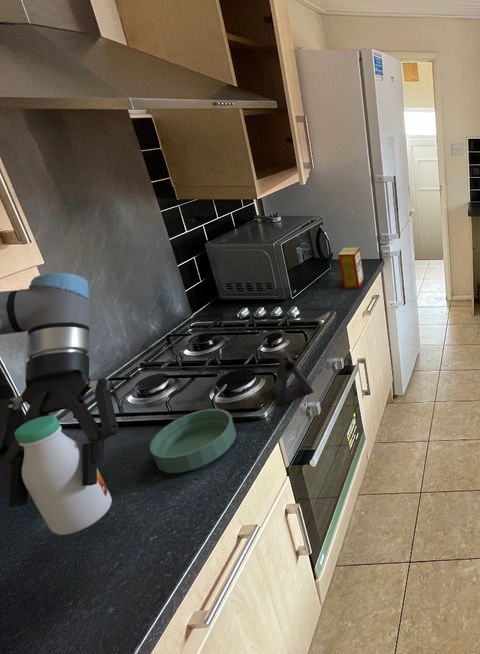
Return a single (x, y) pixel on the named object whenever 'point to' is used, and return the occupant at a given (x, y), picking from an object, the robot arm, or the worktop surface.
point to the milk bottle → (59, 477)
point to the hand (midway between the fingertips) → (54, 494)
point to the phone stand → (280, 389)
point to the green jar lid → (193, 440)
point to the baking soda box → (351, 267)
